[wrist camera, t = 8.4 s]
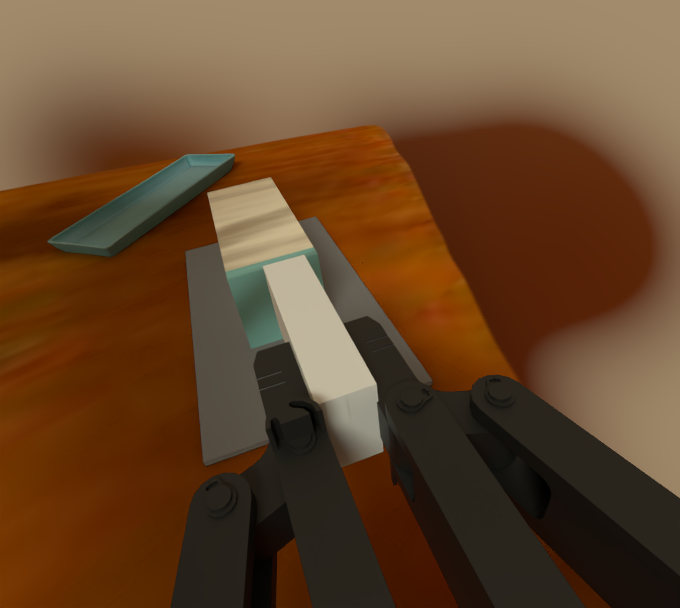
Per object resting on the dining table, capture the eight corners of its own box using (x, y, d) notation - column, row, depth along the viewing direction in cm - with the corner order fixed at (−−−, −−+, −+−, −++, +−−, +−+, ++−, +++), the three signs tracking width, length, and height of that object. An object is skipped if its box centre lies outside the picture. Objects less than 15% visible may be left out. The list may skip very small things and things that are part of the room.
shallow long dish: (114, 264, 46) (104, 243, 44) (54, 257, 49) (42, 238, 47) (241, 170, 65) (236, 153, 63) (191, 169, 68) (185, 154, 66)
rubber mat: (432, 384, 27) (432, 380, 26) (205, 466, 24) (203, 462, 24) (316, 219, 47) (315, 216, 47) (186, 254, 44) (185, 251, 44)
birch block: (317, 253, 28) (270, 177, 41) (227, 279, 27) (207, 192, 40) (330, 323, 32) (283, 233, 44) (251, 348, 31) (225, 249, 43)
